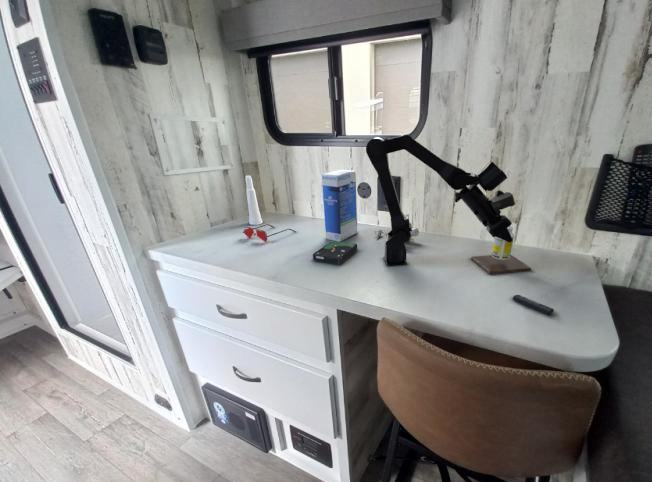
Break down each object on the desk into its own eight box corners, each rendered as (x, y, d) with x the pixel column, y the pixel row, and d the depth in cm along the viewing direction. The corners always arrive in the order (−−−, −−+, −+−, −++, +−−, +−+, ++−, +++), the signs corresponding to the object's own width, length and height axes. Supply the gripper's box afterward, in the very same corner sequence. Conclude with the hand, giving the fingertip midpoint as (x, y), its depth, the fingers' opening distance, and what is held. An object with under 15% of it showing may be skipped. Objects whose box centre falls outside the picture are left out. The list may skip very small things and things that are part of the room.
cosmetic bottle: (252, 221, 150) (244, 174, 140) (264, 221, 149) (257, 174, 140) (247, 224, 144) (238, 176, 135) (259, 225, 144) (251, 176, 134)
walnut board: (489, 274, 94) (489, 271, 93) (470, 259, 104) (471, 256, 104) (530, 270, 96) (531, 267, 95) (508, 256, 106) (509, 253, 106)
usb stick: (554, 313, 74) (555, 307, 73) (549, 317, 73) (550, 311, 72) (516, 297, 81) (517, 292, 80) (511, 300, 80) (512, 295, 79)
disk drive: (340, 266, 101) (357, 250, 113) (339, 258, 100) (357, 243, 112) (312, 261, 104) (332, 246, 117) (311, 254, 103) (332, 239, 116)
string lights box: (343, 230, 135) (341, 169, 124) (358, 233, 132) (356, 170, 121) (325, 239, 125) (320, 173, 114) (340, 242, 121) (337, 174, 110)
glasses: (243, 238, 127) (241, 226, 125) (273, 227, 140) (272, 217, 138) (266, 243, 120) (264, 231, 118) (296, 232, 133) (294, 221, 131)
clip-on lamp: (370, 247, 123) (409, 247, 112) (366, 233, 121) (405, 231, 110) (385, 237, 132) (423, 235, 121) (381, 223, 129) (420, 220, 118)
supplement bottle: (510, 255, 100) (516, 225, 96) (508, 262, 96) (515, 230, 91) (492, 252, 102) (497, 223, 98) (489, 258, 98) (495, 227, 94)
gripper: (510, 189, 81) (544, 230, 85) (492, 178, 98) (520, 213, 102) (475, 217, 85) (509, 255, 89) (463, 202, 102) (492, 235, 106)
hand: (508, 238), depth 96 cm, fingers closed on supplement bottle, 5 cm apart
